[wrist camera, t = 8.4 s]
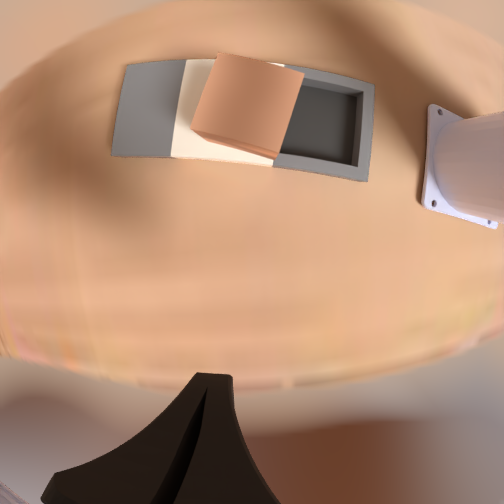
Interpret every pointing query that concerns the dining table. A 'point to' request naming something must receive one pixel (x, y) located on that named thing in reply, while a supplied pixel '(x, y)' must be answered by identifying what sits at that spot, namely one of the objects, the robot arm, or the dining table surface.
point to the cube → (247, 104)
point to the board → (195, 147)
